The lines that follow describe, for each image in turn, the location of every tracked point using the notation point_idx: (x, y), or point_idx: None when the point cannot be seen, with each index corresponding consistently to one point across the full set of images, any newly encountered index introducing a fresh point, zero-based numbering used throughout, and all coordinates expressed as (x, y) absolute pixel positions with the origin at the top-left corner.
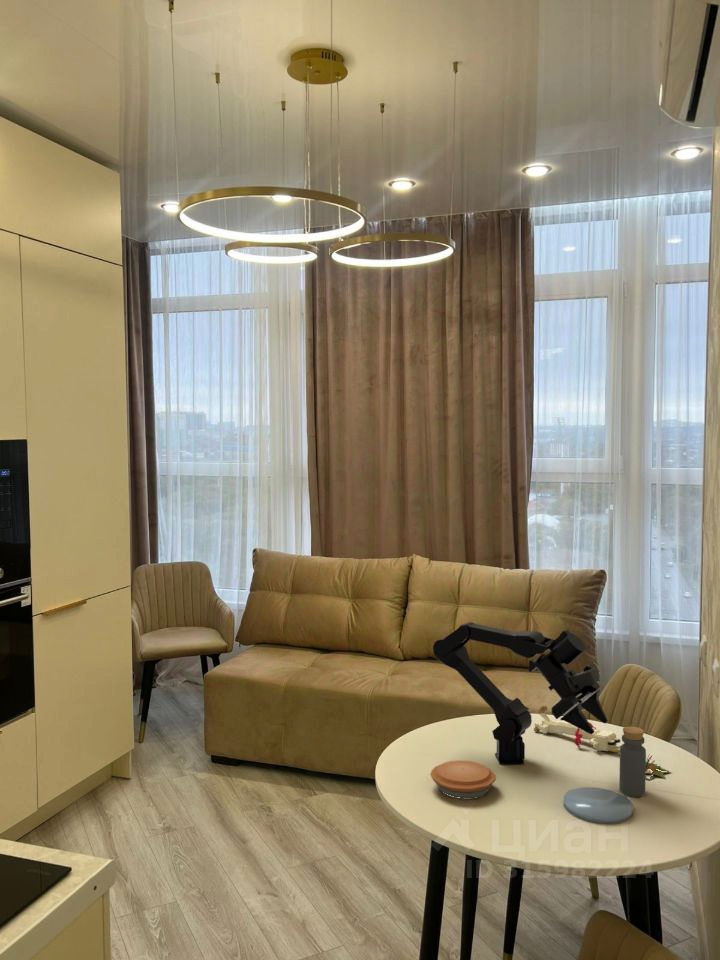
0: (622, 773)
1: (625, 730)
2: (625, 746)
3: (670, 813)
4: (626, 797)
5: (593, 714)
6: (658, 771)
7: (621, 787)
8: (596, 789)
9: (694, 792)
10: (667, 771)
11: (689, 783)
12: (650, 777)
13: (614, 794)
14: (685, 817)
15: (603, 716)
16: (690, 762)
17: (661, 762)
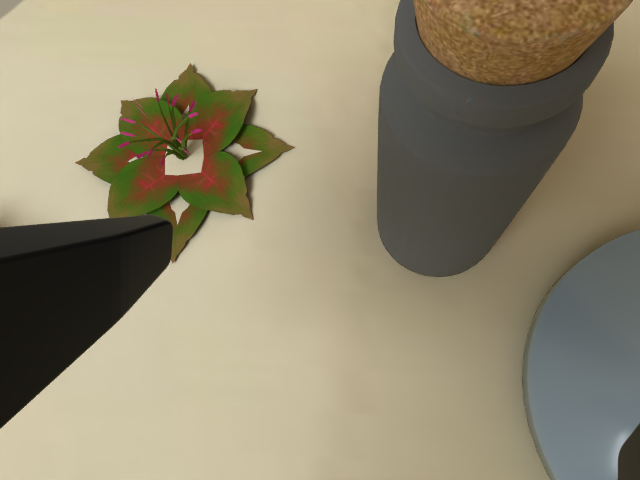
0: (500, 231)
1: (585, 14)
2: (527, 125)
3: (607, 90)
4: (605, 244)
5: (29, 388)
6: (202, 105)
7: (473, 262)
8: (561, 398)
9: (364, 7)
10: (185, 78)
11: (283, 17)
12: (257, 141)
13: (591, 301)
14: (620, 44)
15: (123, 247)
16: (82, 6)
17: (88, 95)
